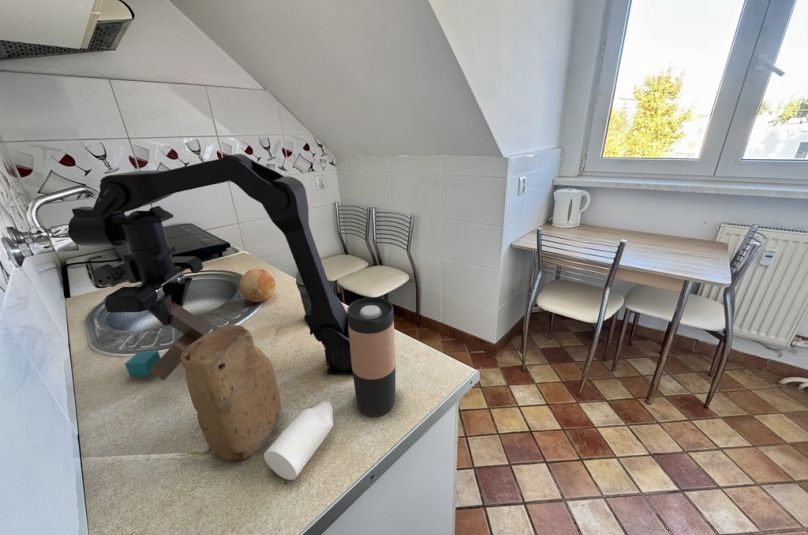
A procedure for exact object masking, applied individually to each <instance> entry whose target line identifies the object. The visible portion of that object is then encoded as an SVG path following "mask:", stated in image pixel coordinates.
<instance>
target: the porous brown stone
mask: <svg viewBox="0 0 808 535" xmlns="http://www.w3.org/2000/svg"><path fill="white" fill-rule="evenodd" d="M180 357H181V364H182V366H183V367H184V369H185V371H184V376H185V380H186V381H185V382H186V385H187V389H188V392H189V396H190V399H191V403H192V405H193V408H194V410H195V412H196V417H197V422H198V425H199V428H200V430H201V433H202V435H203V437H204V440H205V441H206V444H207V445H208V447H209V448H210V449H211V451H213V452H214V453H215V454H216V455H217V456H219V457H221V458H222V459H224V460H227V461H229V462H235V461H236V460H246V459H248V458H250V457H252V456H253V455H255V454H256V453H257V452H258V451H259V450H260V449H261V448H262V447H263V446H264V445H265V444H266V443H267V441H268V440H269V438H270V436H271V434H272V432H273V431H274V429H275V427H276V425H277V423H278V420H279V417H280V416H279V415H280V410H282V404H281V395H280V391H279V385H278V381H277V377H276V372H275V368H274V366H273V363H272V361H271V359H270V357H268V356H267V354H265V353H264V352H263V350H262V348H260V347H259V346H256V345H255V342H254V336H253V334H252V333H251V332H250V330H249V329H247V328H246V327H245V326H243V325H241V324H240V325H239V324H225V325H224V324H223V325H221V326H219V327H217V328H215V329H214V330H212V331H209V332H208V333H207V334H206V335H204V336H202V337H201V338H199V339H198V340H196V341H195V342H193V343H192V344H191V345H189V346H188V347H187V348H186V349H185V350H184V351H183V352H182V354H181V356H180Z"/></svg>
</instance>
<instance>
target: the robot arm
mask: <svg viewBox="0 0 808 535" xmlns="http://www.w3.org/2000/svg"><path fill="white" fill-rule="evenodd" d="M99 181H100V183H99V193H98V196H97V197H96V200H95V202H94V205H93V207H92V206H79V207H74V208H72V209H71V212H72V214H73V216H72V217H71V218H70V219H69V221H68V229H67V234H68V237H69V238H70V240H71V241H72V242H73V243H74V244H76V245H77V246H81V247H121V246H123V245H125V244H126V247H127V249H128V253H126V254H124V255H123V258H122V261H121V262H118V263H116V264H114V265H111V264H109V263H106V264H104V265H101V266H98V267H96V268H94V269H92V273H93V276H94V279H95V281H96V282H97V283H98V284H99V286H103V287H106V286H107V285H109V286H110V287H111V288H113V287H117V285H119V284H121V283H124V282H128V284H137V283H140V284H141V285H138V286H122V287H120V288H118V289H116V290H114V291H113V292H111V293H110V294H108V295H106V296H105V297H104V299H103V300H102V302H103V305H104V307H105V310H106V312H107V313H142V312H145V311H147V309H148V310H149V311H150V312H151V313H150V312H149V313H150V314H152V315H153V316H154V318H156V319H157V320H158V321H159V323H161V324H162V325H163V326H170V325H169V324H170V320H171V300H172V301H174V302H175V303H177V304H178V305H180V306H181V307H183V308H184V304H185V302H186V301H185V300H186V297H187V294H188V291H189V288H190V285H191V282H192V281H193V277H192V276H191V277H189V276H188V277H187V276H185V274H184V273H183V272H185V271H186V270H190V272H191V273H193V274H198V273H199V272H200V271H202V270H203V269H204V265H203V261H202V260H201V259H200V258H198V257H197V256H173V255H172V254H174V253H175V252H177V249H176V246H175V245H169V242H168V238H167V235H166V232H165V228H164V224H163V223H164V222H165V221H168V220H171V219H174V214H173V213H171V212H169V211H168V210H165V209H164V208H163V207H161V206H160V205H156V206H154V207H150V208H149V210H138V209H140V208H143V207H146V206H148V205H152V204H155V203H157V202H159V201H162V200H164V199H166V198H169V197H170V196H171V195H174V194H176V193H181V192H185V191H190V190H194V189H199V188H204V187H208V186H212V185H218V184H221V183H222V184H223V183H227V182H232V183H233V184H235V185H236V186H237V187H238V188H239V189H241V190H242V191H243V192H244V194H246V195H247V196H248V197H250V198H251V199H253V200H254V201H256V202H258V203H260V204H261V205H262V207H263V209H264V210H265V212H266V213H267V215H268V217H269V219H270V220H271V222H272V223H273V225H275V226H276V227H277V228H278V229H279V231H281V233H282V234H283V235H284V238H285V240H286V242H287V245H288V248H289V250H290V253H291V255H292V256H291V257H292V258H293V261H294V263H295V266H296V269H297V272H298V271H299V274H300V276H301V279H302V282H303V284H304V287H305V290H306V292H307V295H308V297H309V300H310V306H309V308H308V310H307V312H306V314H305V313H304V317H303V318H304V321H305V324H307V326H308V328H309V335H310V336H312V335H313V336H314V338H315V340H316V341H317V342H319V343H320V342H321V344H322V346H323V348H324V356H325V363H326V366H327V369H326V374H327V375H347V376H348V375H349V376H353V372H352V363H351V352H350V341H349V329H348V318H347V309H346V308H345V306H344V305H343V303H342V301H341V300H340V298H339V297H338V296H337V295H336V294H335V293H334V292H333V291H332V289H331V285H330V283H329V280H328V279H329V278H328V277H327V273H326V271H325V267H324V266H323V262H322V260H321V256H320V254H319V251H318V247H317V245H316V242H315V240H314V237H313V234H312V230H311V227H310V223H309V222H310V221H309V220H310V219H309V202H308V197H307V190H306V187H305V185H304V184H303V182H302V181H301V180H299V179H297V178H296V177H293V176H289V175H288V176H285V175H283V174H281V173H280V172H278V171H277V170H274V169H272V168H270V167H268V166H265V165H264V164H261V163H259V162H257V161H255V160H254V159H252V158H250V157H249V156H247V155H245V154H242V153H234V154H233V153H232V154H227V155H224V156H222V157H220V158H218V159H217V158H216V159H212V160H207V161H204V162H199V163H193V164H190V165H185V166H181V167H177V168H172V169H168V170H136V171H127V172H121V173H116V174H108V175H105V176H103V177H102V178H101V179H100V180H99ZM131 211H132V212H131ZM127 212H130V213H129V214H127V215H126V214H125V213H127Z"/></svg>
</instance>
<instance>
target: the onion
mask: <svg viewBox="0 0 808 535" xmlns="http://www.w3.org/2000/svg"><path fill="white" fill-rule="evenodd" d="M275 291H276V280H275V278H274V276H273V275H272V274H271V273H270V272H269V271H267V270H266V269H264V268H253V269H252V268H251V269H249V270H248V271H246V272H245V273H244V274H243V275H242V276H241V278H240V280H239V292H240V295H241V296H242V297H243V298H244V299H245V300H247V301H248V302H250V303H260V302H264V301H268V300H269V299H271V298H272V297H273V296H274V294H275Z"/></svg>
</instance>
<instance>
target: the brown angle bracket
mask: <svg viewBox="0 0 808 535" xmlns="http://www.w3.org/2000/svg"><path fill="white" fill-rule="evenodd" d="M146 311H147V312H148V313H150V314H152V313H151V312H150V311H149V310H148V309H147V310H146ZM168 326H170V327H172V328H173V329H175V330H176V331H178V332H180V334H182V335H181V336H180V337H179V338H178V339H177V340H176V341H175V342H174V343H173V344H172V345H171V346H170V347H169V348H168V349H167V350H166V351H165V353H164V354H163V355H162V356H161V357H160V358H161V359H160V360H159V361H158V362H157V363H156V364H155V365H154V366H153V368H152V369H151V370H150V371H149V372H150V373H152V374H151V375H153V376H155V377H157V378H158V379H160V380H161V381H165V380H167V378H168V377H169V376H170V375H171V374H172V373H173V371H174V370H175V369H177V367H178V366H179V365H180V364H182V362H181V357H180V356H181V354H182V352H183V351H184V350H185V349H186V348H187V347H188V346H189V345H191V344H192V343H193V342H195V341H196V340H198V339H199V338H201V337H202V336H204V335H206V334H208V333H210V332H211V330H213V328H214V326H213V325H212V324H210V323H209V322H208V321H206V320H205V319H203V318H201V317H198V316H196V315H194V314H193V313H192V312H190V311H189V310H188V309H186V308H184V306H183V307H181V306H180V305H178V304H177V303H175V302H174V301H172V300H171V320H170V324H169V325H168Z"/></svg>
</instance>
